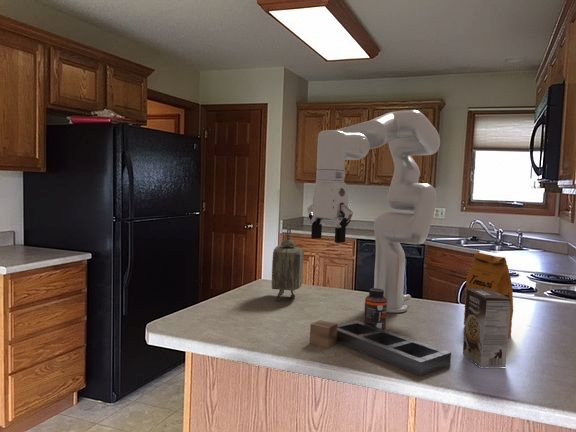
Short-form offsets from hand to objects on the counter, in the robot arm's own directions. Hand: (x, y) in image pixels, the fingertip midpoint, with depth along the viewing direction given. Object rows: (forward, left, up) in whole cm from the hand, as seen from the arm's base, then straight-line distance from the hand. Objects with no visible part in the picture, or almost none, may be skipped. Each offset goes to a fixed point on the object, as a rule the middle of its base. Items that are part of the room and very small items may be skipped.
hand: (327, 240), depth 128 cm
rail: (-1, +20, -25) cm, 32 cm away
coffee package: (-39, +25, -25) cm, 53 cm away
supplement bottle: (-12, +7, -25) cm, 29 cm away
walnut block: (+8, +8, -25) cm, 27 cm away
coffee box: (-16, +37, -25) cm, 48 cm away
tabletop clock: (-13, -34, -25) cm, 44 cm away
